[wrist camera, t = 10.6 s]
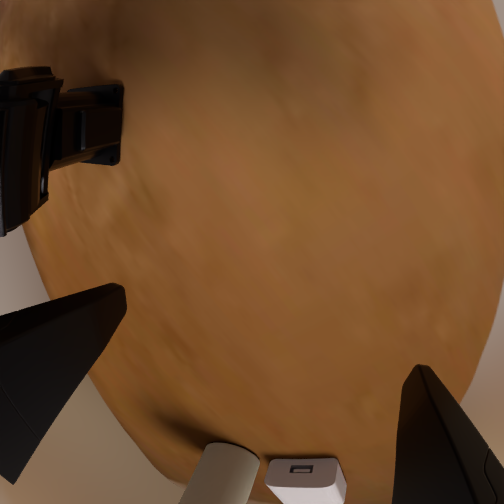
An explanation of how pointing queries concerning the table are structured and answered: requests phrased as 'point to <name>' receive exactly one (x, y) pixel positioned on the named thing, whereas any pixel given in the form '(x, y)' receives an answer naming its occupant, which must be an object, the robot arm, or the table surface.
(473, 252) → the table surface
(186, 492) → the travel mug
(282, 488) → the charger
